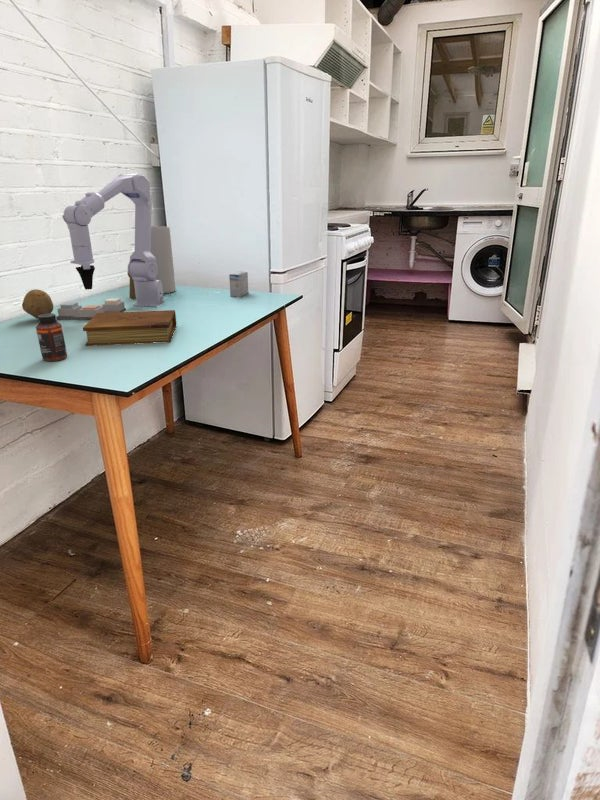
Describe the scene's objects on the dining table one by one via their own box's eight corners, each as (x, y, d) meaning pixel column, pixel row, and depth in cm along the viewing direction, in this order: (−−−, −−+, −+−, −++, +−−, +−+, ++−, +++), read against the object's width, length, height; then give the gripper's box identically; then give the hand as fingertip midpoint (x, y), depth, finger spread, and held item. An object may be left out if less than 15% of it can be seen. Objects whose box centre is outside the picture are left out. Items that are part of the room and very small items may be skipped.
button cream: (121, 305, 187) (120, 298, 186) (116, 307, 183) (115, 300, 182) (110, 305, 187) (109, 298, 186) (105, 307, 183) (104, 300, 182)
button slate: (78, 309, 181) (77, 302, 180) (73, 312, 177) (71, 305, 177) (67, 309, 181) (66, 302, 181) (61, 312, 178) (60, 305, 177)
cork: (143, 299, 206) (139, 269, 202) (127, 299, 206) (123, 269, 202) (147, 295, 212) (144, 267, 207) (132, 296, 212) (128, 267, 207)
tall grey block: (172, 294, 214) (165, 228, 204) (140, 294, 214) (132, 229, 204) (178, 288, 225) (172, 226, 216) (148, 289, 225) (141, 226, 216)
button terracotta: (100, 312, 180) (99, 305, 179) (95, 315, 176) (94, 308, 175) (89, 312, 180) (88, 305, 179) (83, 315, 176) (82, 307, 176)
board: (126, 310, 188) (124, 301, 187) (109, 319, 175) (108, 310, 174) (76, 309, 190) (75, 300, 188) (56, 319, 177) (55, 309, 176)
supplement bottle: (71, 355, 140) (64, 312, 136) (61, 362, 134) (53, 317, 130) (49, 355, 140) (40, 312, 136) (38, 362, 135) (28, 317, 130)
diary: (176, 327, 168) (175, 309, 165) (170, 344, 150) (168, 324, 148) (100, 330, 165) (97, 311, 163) (85, 347, 148) (82, 327, 146)
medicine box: (238, 293, 215) (237, 271, 212) (248, 293, 214) (247, 271, 211) (230, 296, 208) (228, 274, 205) (240, 297, 207) (239, 274, 204)
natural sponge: (19, 323, 172) (13, 292, 168) (33, 316, 180) (27, 286, 177) (47, 323, 172) (41, 292, 168) (60, 316, 180) (54, 286, 176)
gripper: (66, 244, 174) (73, 286, 180) (69, 249, 162) (77, 294, 167) (89, 243, 177) (96, 284, 182) (94, 247, 165) (100, 291, 170)
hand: (88, 289), depth 175 cm, fingers closed
